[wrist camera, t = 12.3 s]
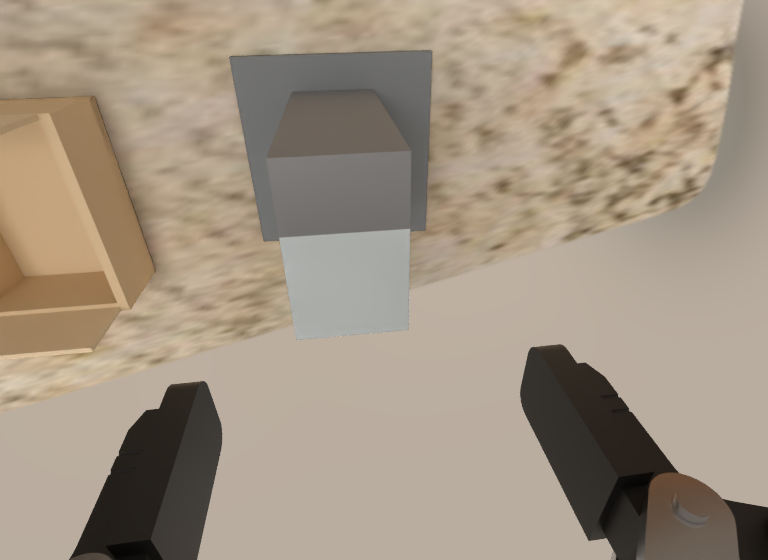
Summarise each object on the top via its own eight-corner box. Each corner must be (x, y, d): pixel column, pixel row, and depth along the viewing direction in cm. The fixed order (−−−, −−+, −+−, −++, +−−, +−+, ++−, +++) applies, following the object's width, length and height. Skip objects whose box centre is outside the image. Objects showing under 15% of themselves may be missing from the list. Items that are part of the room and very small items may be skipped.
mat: (231, 56, 26) (229, 57, 25) (430, 50, 27) (432, 51, 26) (264, 237, 32) (263, 241, 31) (424, 227, 33) (425, 230, 32)
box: (291, 91, 26) (266, 158, 15) (372, 88, 27) (411, 151, 15) (306, 212, 31) (296, 340, 19) (376, 208, 31) (408, 329, 19)
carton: (-74, 102, 25) (-247, 143, 17) (93, 96, 26) (-2, 132, 18) (24, 280, 31) (-71, 366, 24) (155, 270, 32) (103, 350, 25)
